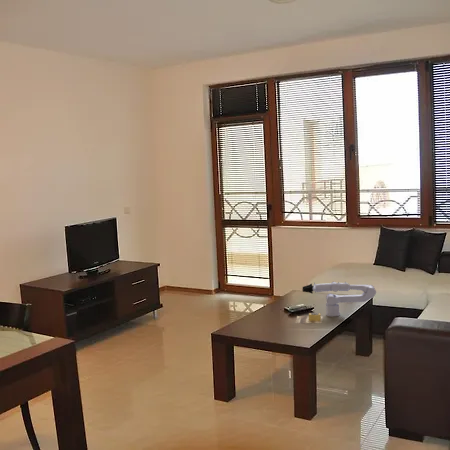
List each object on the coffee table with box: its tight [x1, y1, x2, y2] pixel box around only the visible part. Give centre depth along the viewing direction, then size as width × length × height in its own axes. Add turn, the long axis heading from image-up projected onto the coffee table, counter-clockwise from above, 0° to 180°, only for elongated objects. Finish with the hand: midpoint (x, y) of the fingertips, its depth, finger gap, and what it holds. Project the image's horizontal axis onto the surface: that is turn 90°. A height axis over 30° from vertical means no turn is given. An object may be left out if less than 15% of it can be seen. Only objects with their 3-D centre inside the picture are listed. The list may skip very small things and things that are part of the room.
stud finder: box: [308, 312, 322, 321], centre depth 386 cm, size 8×5×4 cm, turn 77°
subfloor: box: [294, 315, 323, 325], centre depth 387 cm, size 18×19×1 cm
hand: (302, 289), depth 396 cm, fingers open, 7 cm apart
